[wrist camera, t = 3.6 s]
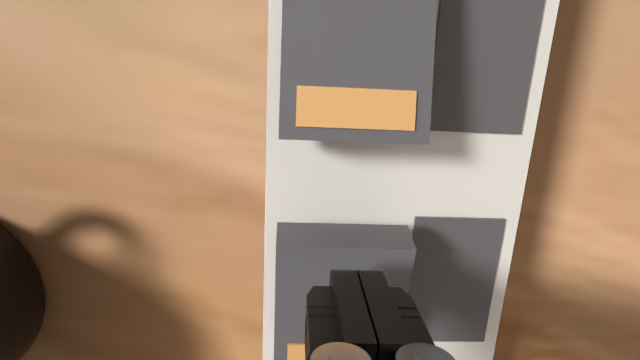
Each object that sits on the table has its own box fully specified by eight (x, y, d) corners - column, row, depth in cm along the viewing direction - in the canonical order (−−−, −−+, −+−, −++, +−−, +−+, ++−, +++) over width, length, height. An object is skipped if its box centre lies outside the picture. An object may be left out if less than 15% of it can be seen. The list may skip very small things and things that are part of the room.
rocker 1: (284, -50, 15) (284, -72, 13) (426, -41, 15) (441, -60, 13) (279, 139, 15) (278, 139, 14) (416, 144, 15) (430, 144, 14)
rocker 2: (277, 222, 16) (275, 248, 15) (407, 225, 16) (417, 250, 15) (274, 343, 19) (273, 374, 17) (385, 344, 19) (392, 374, 18)
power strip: (275, -120, 18) (271, -166, 14) (524, -100, 18) (587, -139, 14) (264, 477, 26) (259, 554, 22) (434, 474, 27) (458, 548, 23)
